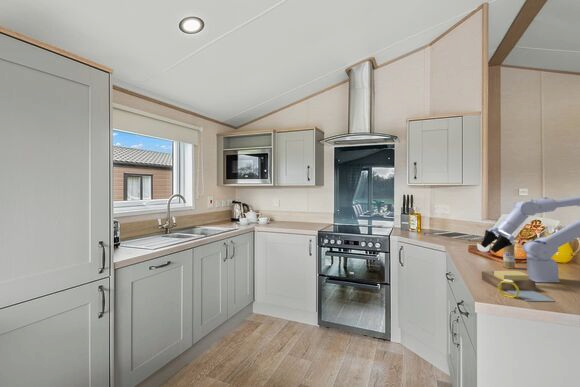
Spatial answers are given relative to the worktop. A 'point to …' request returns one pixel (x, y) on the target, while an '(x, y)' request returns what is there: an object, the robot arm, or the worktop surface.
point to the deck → (493, 280)
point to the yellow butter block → (511, 275)
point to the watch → (509, 283)
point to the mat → (531, 296)
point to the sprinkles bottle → (509, 256)
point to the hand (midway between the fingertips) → (487, 248)
